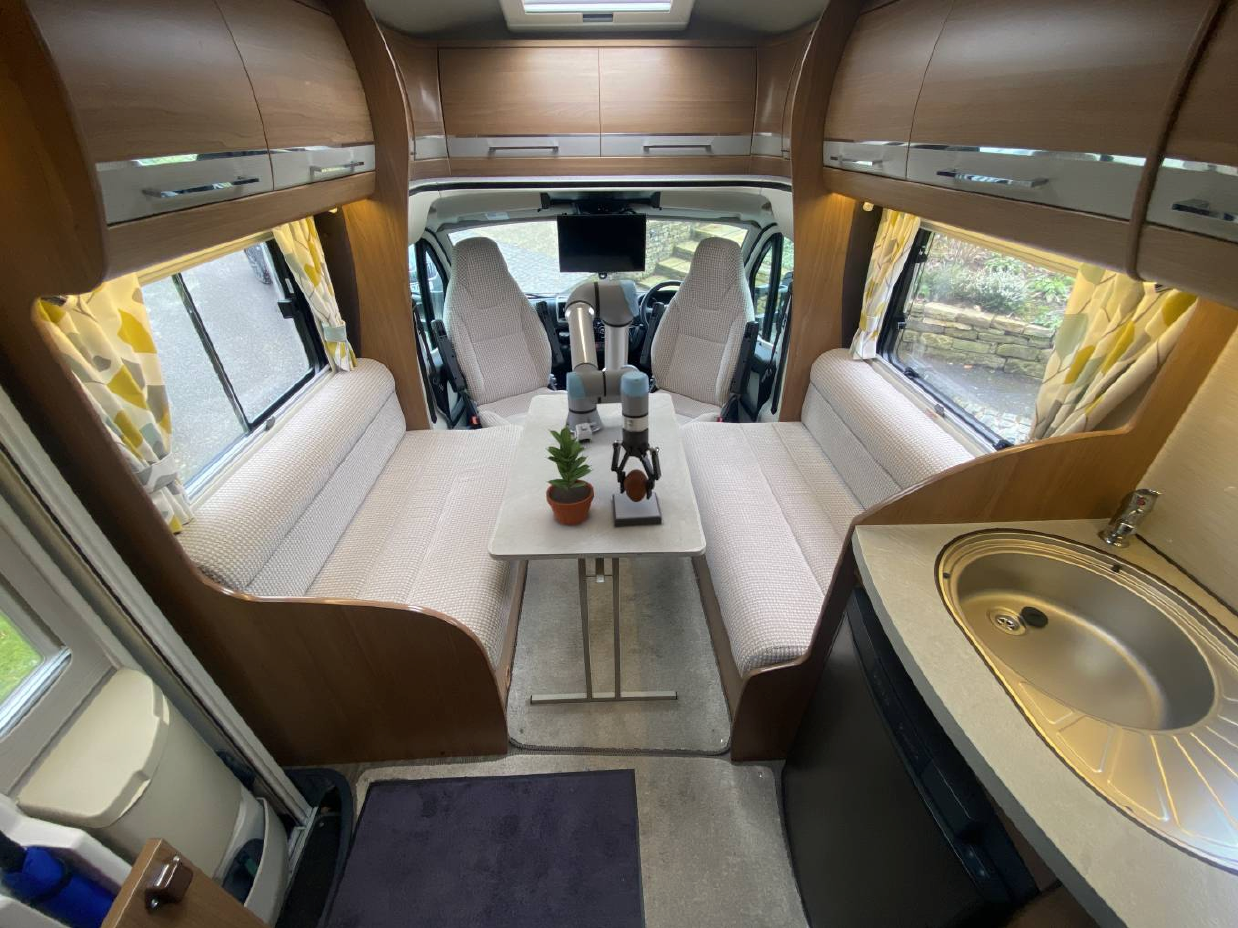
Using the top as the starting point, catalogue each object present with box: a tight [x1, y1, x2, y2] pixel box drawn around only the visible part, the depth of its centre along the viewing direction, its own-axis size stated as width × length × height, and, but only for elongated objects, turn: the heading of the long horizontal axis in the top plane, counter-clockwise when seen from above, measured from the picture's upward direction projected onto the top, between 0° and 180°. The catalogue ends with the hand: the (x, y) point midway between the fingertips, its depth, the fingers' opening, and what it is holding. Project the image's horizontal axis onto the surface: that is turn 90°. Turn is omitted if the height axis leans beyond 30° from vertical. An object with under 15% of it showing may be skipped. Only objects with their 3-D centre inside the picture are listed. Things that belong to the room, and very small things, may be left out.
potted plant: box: [545, 424, 595, 526], centre depth 147 cm, size 15×15×30 cm
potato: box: [623, 468, 648, 502], centre depth 150 cm, size 8×12×8 cm, turn 179°
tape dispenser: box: [574, 423, 593, 445], centre depth 195 cm, size 6×7×10 cm
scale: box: [612, 491, 662, 528], centre depth 155 cm, size 14×14×3 cm
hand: (636, 494), depth 152 cm, fingers closed on potato, 8 cm apart
